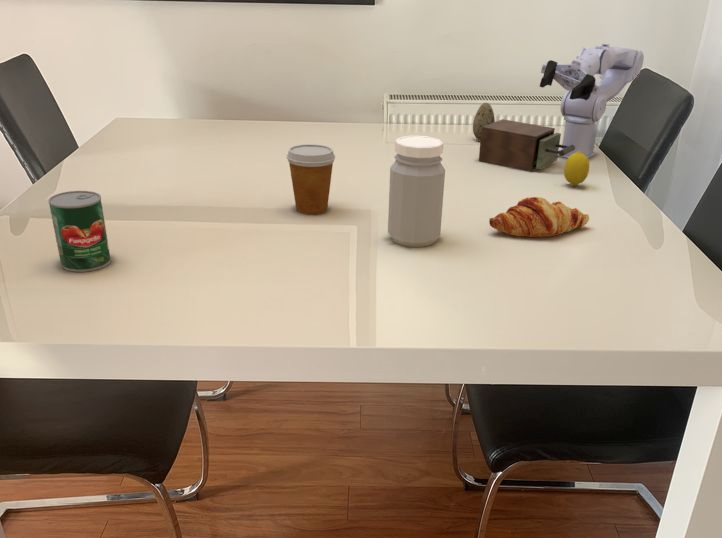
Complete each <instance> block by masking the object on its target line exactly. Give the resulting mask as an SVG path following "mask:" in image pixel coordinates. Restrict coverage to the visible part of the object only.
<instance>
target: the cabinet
mask: <svg viewBox="0 0 722 538" xmlns="http://www.w3.org/2000/svg"><path fill="white" fill-rule="evenodd" d="M555 130H556V128H555V127H551V126H545V125H538V124H532V123H528V122H523V121H522V122H520V121H516V120H509V119H503V118H501V119H500V120H497V121H496V120H495V122H494V123H491V124H488V125H486V126H483V127H482V131H481V141H479V143H480V144H479V154H478V162H480V163H486V164H491V165H497V166H500V167H505V168H510V169H516V170H520V171H526V172H530V173H531V172H534V171H536V170H537V169H536V165H537V164H535V165H533V163H534V156H535V148H536V141H537V139H538V138H540V137H542V136H544V135H547V134H549V133H551V135H553V134H555ZM551 135H550V136H551Z"/></svg>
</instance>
